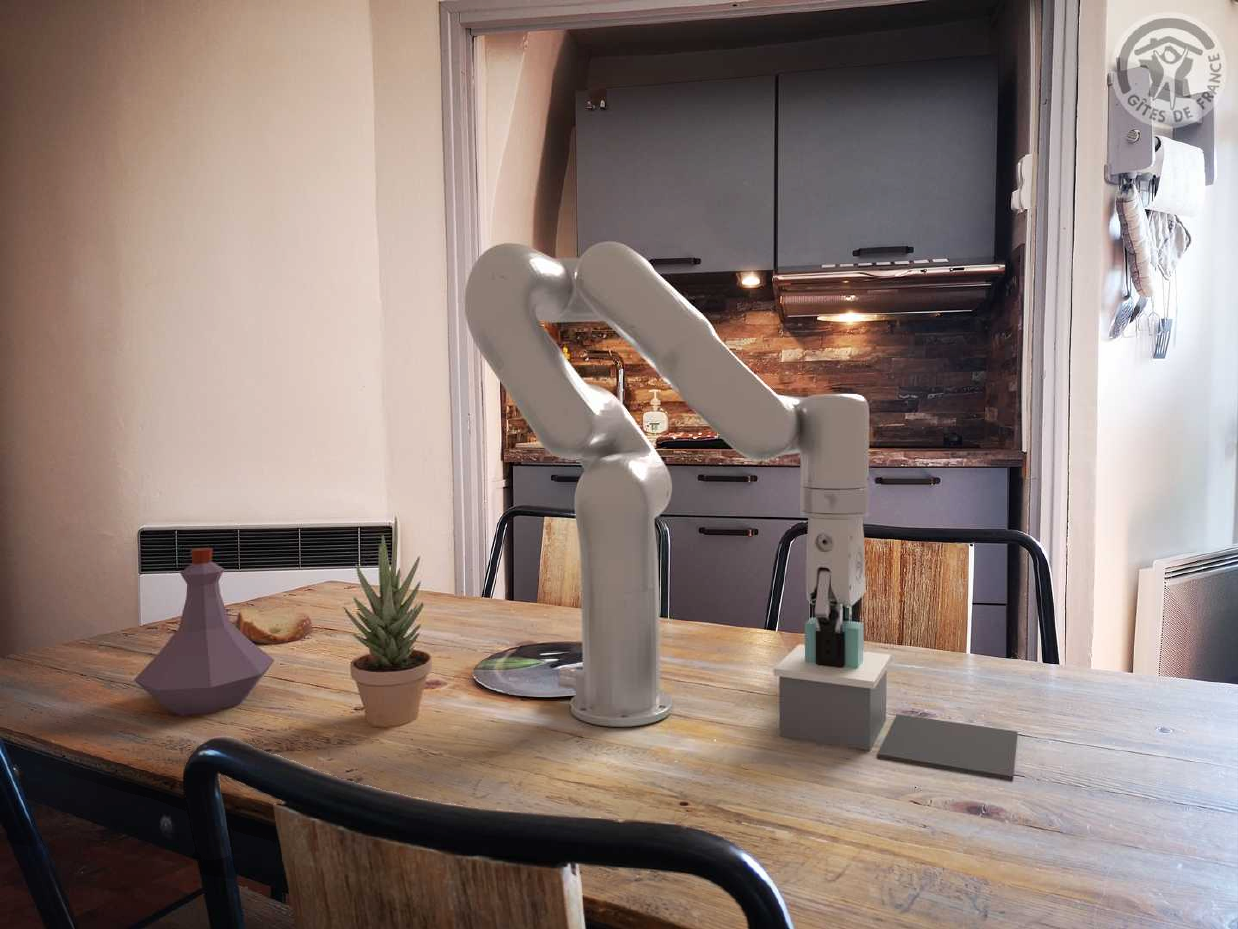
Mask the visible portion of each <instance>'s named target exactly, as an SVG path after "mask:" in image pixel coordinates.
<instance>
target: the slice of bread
mask: <svg viewBox="0 0 1238 929" xmlns="http://www.w3.org/2000/svg"><path fill="white" fill-rule="evenodd" d="M236 628H237V629H238V630H239V631H240V632H241V633H242V634H243V635H244V636H246V637H247V638H248V639H249V640H250V641H251V642H255V643H256V644H260V645H266V644H267V645H269V644H273V645H274V646H275V645H276V646H278V645H285V644H289V643H294V642H297V641H301V640H302V638H304V637H305V636H307V635H309V634H311V633H312V631H313V624H312V621H311V618H310V616H309V614H307V613H305V612H297V611H296V612H295V611H291V610H284V609H283V610H282V609H278V610H277V609H269V608H268V609H264V608H263V609H259V608H258V609H257V608H256V609H253V608H251V609H250V608H247V609H241V610H240V611H239V612H238V615H237V618H236Z"/></svg>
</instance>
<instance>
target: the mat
mask: <svg viewBox="0 0 1238 929" xmlns="http://www.w3.org/2000/svg"><path fill="white" fill-rule="evenodd" d="M1017 741H1018V731H1017V730H1010V729H1004V728H1003V729H1002V728H997V727H990V726H982V725H974V724H969V723H968V724H967V723H963V722H962V723H960V722H953V721H947V720H941V719H934V718H927V717H918V716H912V715H904V714H899V713H897V714H896V715H895V717H894V719H893V721H892V723H891V725H890V727H889V729H888V731H887V734H886V735H885V737H884V739H883V741H882V744H881V745H880V748H879V749H878V750H877V753H876V758H878V759H884V760H890V761H896V762H901V763H902V762H903V763H908V764H913V765H919V766H925V767H932V768H937V769H943V770H950V771H953V772H954V771H956V772H962V773H968V774H971V775H972V774H973V775H978V776H984V777H991V778H992V777H993V778H997V779H1003V780H1008V781H1009V780H1010V781H1013V779H1014V773H1015V772H1014V771H1015V769H1014V768H1015V761H1016V751H1017V750H1016V749H1017Z"/></svg>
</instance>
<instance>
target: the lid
mask: <svg viewBox="0 0 1238 929" xmlns="http://www.w3.org/2000/svg"><path fill="white" fill-rule="evenodd" d="M842 632H845V665H844V667H843V668H837V667H829V666H821V665H817V664H816V618H813V616H812V617H810V618H809V619H808V620H807V621H806V622H805V623H804V644H801V643H799V644H798V645H796V647H795V648H794V649H793V650H791V651H790V653H788V654H787V655H786V656H785V657H784V658H783V659H782V660H781V661H780V662H779V663H778V664H777V665H775V666H774V668H773V676H775V677H779V676H780V677H788V678H795V679H803V680H810V681H818V682H825V683H833V684H840V685H848V686H855V687H863V688H870V689H875V687H876V685H877V684H878V682H879V681H880V679H881V677H882V676H883V674H884V673H885V671H886V672H887V669H888V668H889V666H890V664H891V663H892V654H890V653H889V654H888V653H880V652H879V653H878V652H871V651H864V622H861V621H860V622H852V621H842Z"/></svg>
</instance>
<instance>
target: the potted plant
mask: <svg viewBox="0 0 1238 929" xmlns="http://www.w3.org/2000/svg"><path fill="white" fill-rule="evenodd" d="M394 517H395V518H394V525H393V526H394V527H393V541H392V552H391V563H390V561H389V555H388V549H387V544H386V540H385V536H384V534H382V535H381V541H380V542H381V545H378V580H379V581H378V582H379V596H378V595H377V593H376V592H375V591H374V589H373V588H372V586H371V585H370V584H369V582H368V580H367V579H366V577H365V576H364V574H363V573H362V570H361V569H360V566H359V565H358V564H356V563H355V569H356V574H357V578H358V580H359V583H360V585H361V587H362V589H363V591H364V594H365V596H366V598H367V600H368V602H369V605H370V608H371V611H370V609H368V608H367V607H366V606H365V605H364V604H363V603H361V601H359V600H358V599H357V597H355V596H353V602H354V603H355V604H356V607H357V608H358V610H359V611H360V612H361V613H360V612H356V615H357V616H358V619H360V620H361V622H362V623H363V625H362V624H361V623H360V621H358V620H357V619H356V618H355V617H354V616H353V615H352V614H351V613H350V611H348V609H347V607H345V606H343V607H342V609H344V613H345V614H346V615H347V616H348V618H349V619H350V620H351V622H352V623H353V625H354V626H356V628H357V629H358V630H359V631H360V632H361V633H362V634H363V635H364V636H365V638H364V637H361V636H359V635H357V634H355V633H354V634H352V636H353V637H354V638H355V639H356V640H358V641H359V642H360V643H362V645H364V646H365V647H366V648H368V651H369V652H366V653H362V654H361V655H358V656H356V657H355V658H353V659H352V660H351V661H350V665H349V666H350V668H349V669H350V677H351V679H352V680H354V681H355V684H356V688H357V690H358V693H359V694H358V695H359V697H360V701H361V703H362V708H363V710H364V713H365V714H364V715H365V719H366V720H365V721H367V723H368V724H370V725H372V726H373V727H382V728H383V727H384V728H385V727H386V728H387V727H388V728H389V727H397V726H402V725H405V724H410V723H411V722H412V721H415V720H416V719H418V717H419V712H420V706H421V700H422V696H423V693H424V688H425V686H426V685H425V684H426V681H427V678H428V675H429V674H430V673H431V671H432V669H433V667H432V666H433V665H432V664H433V661H432V659H433V658H432V656H431V654H430V653H429V652H426V651H423V650H419V649H415V646H414V644H415V642H416V641H417V639H418V638H419V636H420V634H421V633H420V632H418V630H419V629H420V628H421V626H422V625H421V624H418V625H417V626H416V627H415V628H414V629H413V630H412V631H411V632H410V633H409V634H407V633H408V631H409V630H410V628H411V627H412V625H413V624H414V622H415V621H416V619H417V618H418V616H419V614H420V613H421V611H422V609H423V607H424V605H425V604H424V601H422V602H421V603H420V604H419V603H417V604H416V605H415V606H414V607H413V608H411V609H410V607H411V606H412V604H413V603H414V600H415V598H416V596H417V594H418V592H419V589H420V586H421V580H419V581H418V583H417V584H416V586H415V588H414V589H413V590H412V592H411V593H410V595H409V596H408V598H406V600H405V601H404V599H405V597H406V596H407V593H408V591H409V589H410V586H411V585H412V584H411V583H412V581H413V579H414V576H415V574H416V572H417V570H418V566H419V564H420V558H421V557H420V556H421V555H419V556H418V557H417V559H416V560H415V562H414V564H413V566H412V568H410V570H409V573H408V575H407V576H406V578H405V580H404V582H403V583H402V585H401V577H402V574H401V573H402V571H401V568H400V567H399V568H398V570H397V565H398V546H399V545H398V544H399V542H398V541H399V536H398V535H399V534H398V532H399V530H398V519H397V516H394ZM402 603H403V604H402ZM365 626H366V628H367V629H368V630H367V629H366V628H365ZM417 632H418V633H417ZM406 634H407V636H406Z"/></svg>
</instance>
